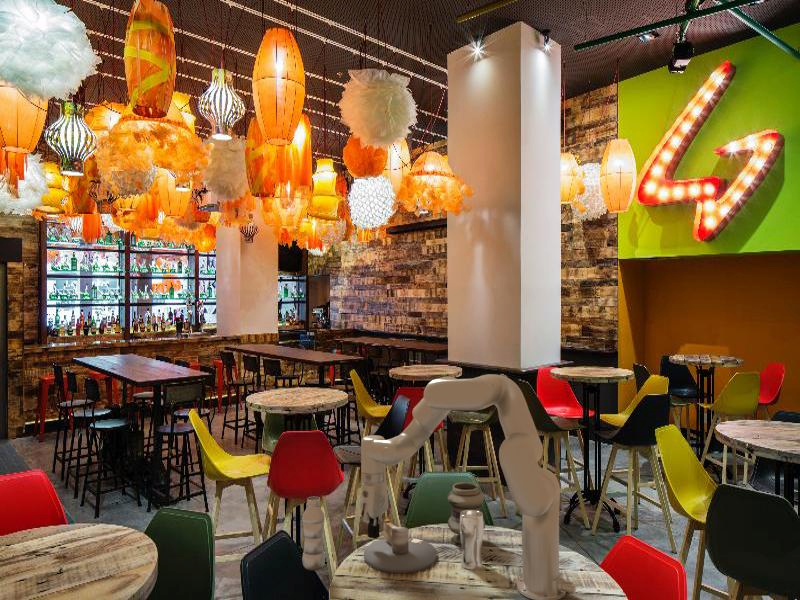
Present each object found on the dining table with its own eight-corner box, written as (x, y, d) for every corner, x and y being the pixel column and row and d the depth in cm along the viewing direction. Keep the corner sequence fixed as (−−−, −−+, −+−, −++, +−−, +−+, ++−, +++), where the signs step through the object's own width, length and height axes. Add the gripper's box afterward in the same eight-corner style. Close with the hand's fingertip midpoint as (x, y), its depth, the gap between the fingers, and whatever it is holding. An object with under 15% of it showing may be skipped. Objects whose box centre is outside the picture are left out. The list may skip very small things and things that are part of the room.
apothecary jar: (440, 543, 180) (440, 486, 181) (459, 531, 190) (459, 478, 191) (474, 552, 173) (473, 493, 174) (491, 539, 183) (491, 484, 184)
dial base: (449, 551, 174) (449, 546, 174) (412, 579, 155) (412, 573, 155) (390, 537, 186) (390, 532, 186) (349, 561, 167) (349, 555, 167)
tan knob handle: (411, 552, 169) (411, 530, 170) (396, 555, 167) (396, 533, 167) (392, 537, 180) (392, 517, 181) (378, 540, 178) (378, 520, 178)
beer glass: (483, 571, 160) (482, 518, 161) (458, 569, 161) (458, 516, 162) (484, 561, 167) (484, 510, 167) (461, 559, 168) (460, 508, 169)
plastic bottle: (313, 575, 158) (313, 503, 159) (297, 569, 162) (297, 499, 163) (330, 567, 163) (329, 497, 164) (313, 561, 167) (313, 493, 168)
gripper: (371, 484, 165) (371, 548, 164) (395, 472, 178) (395, 531, 178) (350, 481, 168) (350, 543, 168) (375, 469, 182) (375, 527, 181)
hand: (373, 537), depth 173 cm, fingers closed
